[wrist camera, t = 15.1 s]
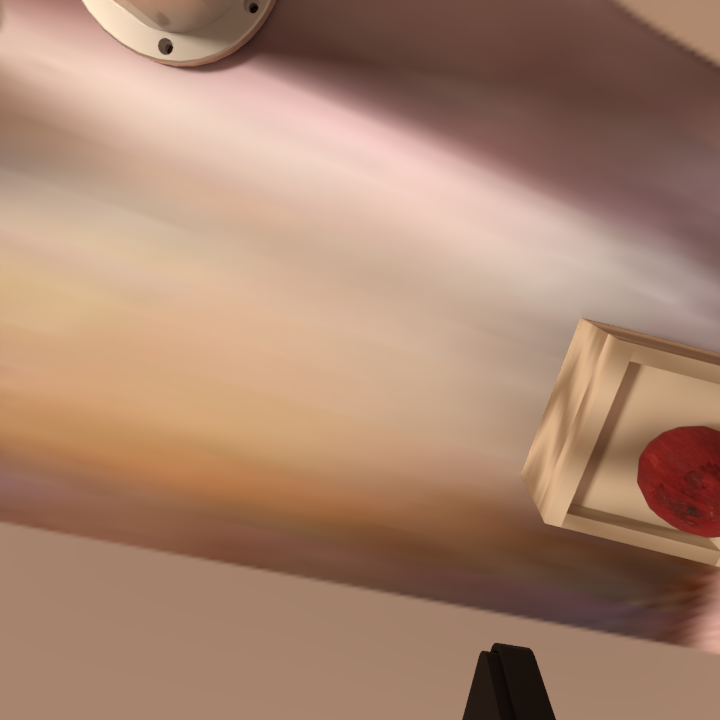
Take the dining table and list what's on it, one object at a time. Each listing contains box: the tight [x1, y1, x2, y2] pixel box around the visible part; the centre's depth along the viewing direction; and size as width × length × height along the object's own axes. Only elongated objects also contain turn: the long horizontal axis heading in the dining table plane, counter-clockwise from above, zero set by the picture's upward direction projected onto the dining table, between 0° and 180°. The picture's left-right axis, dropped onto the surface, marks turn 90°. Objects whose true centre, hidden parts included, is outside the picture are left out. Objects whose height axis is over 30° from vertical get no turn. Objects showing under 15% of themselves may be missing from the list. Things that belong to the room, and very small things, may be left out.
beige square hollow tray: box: [521, 318, 720, 567], centre depth 34 cm, size 12×12×6 cm
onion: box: [637, 426, 720, 538], centre depth 29 cm, size 6×6×8 cm
